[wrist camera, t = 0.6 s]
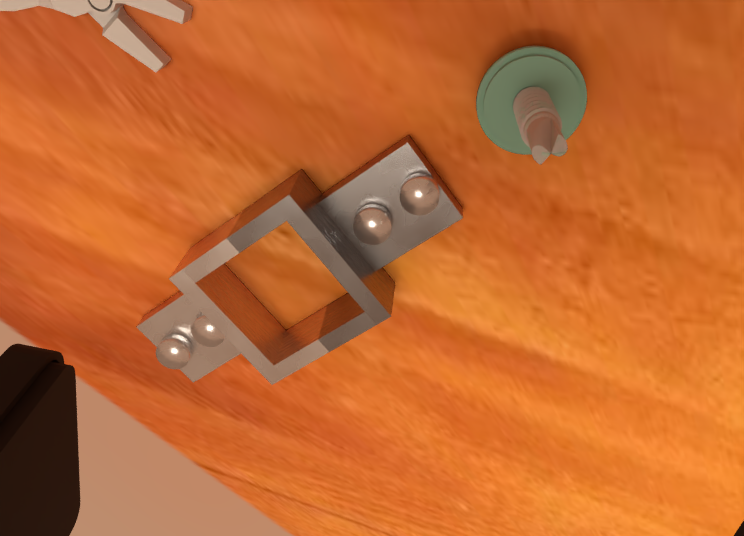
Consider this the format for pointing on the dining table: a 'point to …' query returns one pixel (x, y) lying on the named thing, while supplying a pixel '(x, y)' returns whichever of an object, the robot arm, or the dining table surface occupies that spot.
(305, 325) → the riveted metal bracket
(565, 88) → the screw
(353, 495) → the dining table surface
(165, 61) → the pliers
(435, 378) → the dining table surface
